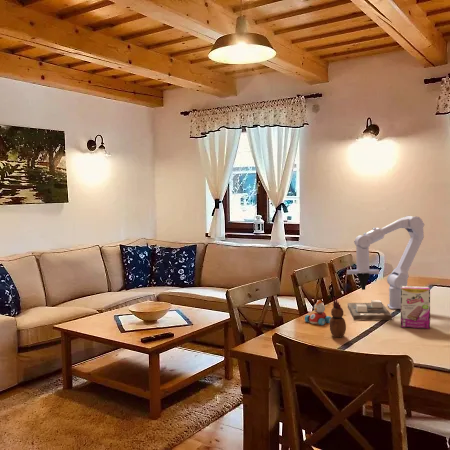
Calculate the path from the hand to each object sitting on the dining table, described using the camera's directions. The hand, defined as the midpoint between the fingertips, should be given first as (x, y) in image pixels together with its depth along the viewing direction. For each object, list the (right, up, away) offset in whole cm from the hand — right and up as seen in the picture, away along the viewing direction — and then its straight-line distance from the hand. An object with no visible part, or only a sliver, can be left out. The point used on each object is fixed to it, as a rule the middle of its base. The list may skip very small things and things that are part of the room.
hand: (363, 289), depth 230 cm
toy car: (-25, -12, -20) cm, 34 cm away
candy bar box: (+12, -11, -32) cm, 36 cm away
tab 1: (-4, -8, -12) cm, 15 cm away
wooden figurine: (-21, -13, -41) cm, 48 cm away
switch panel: (0, -10, -8) cm, 12 cm away
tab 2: (+5, -7, -5) cm, 10 cm away
